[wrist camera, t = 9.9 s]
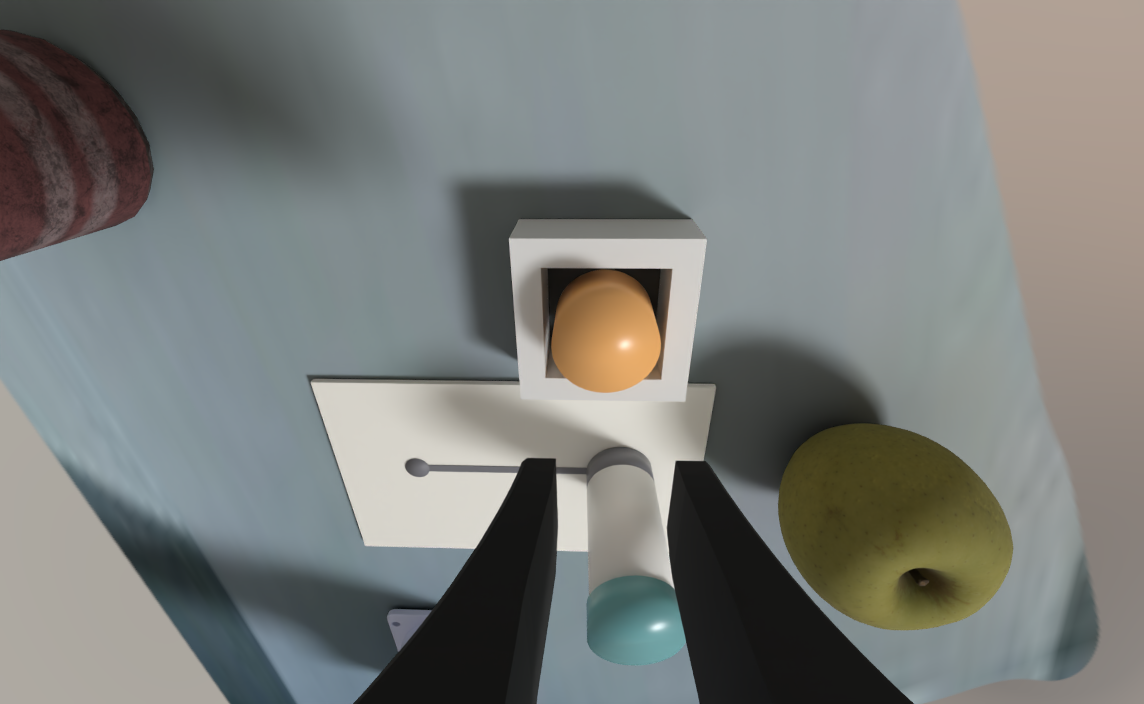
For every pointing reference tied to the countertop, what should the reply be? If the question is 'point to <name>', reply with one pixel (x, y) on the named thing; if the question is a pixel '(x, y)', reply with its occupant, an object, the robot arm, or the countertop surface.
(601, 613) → the marker
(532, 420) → the paper
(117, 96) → the can
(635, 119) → the countertop surface
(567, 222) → the button housing
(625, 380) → the button
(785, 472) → the apple
